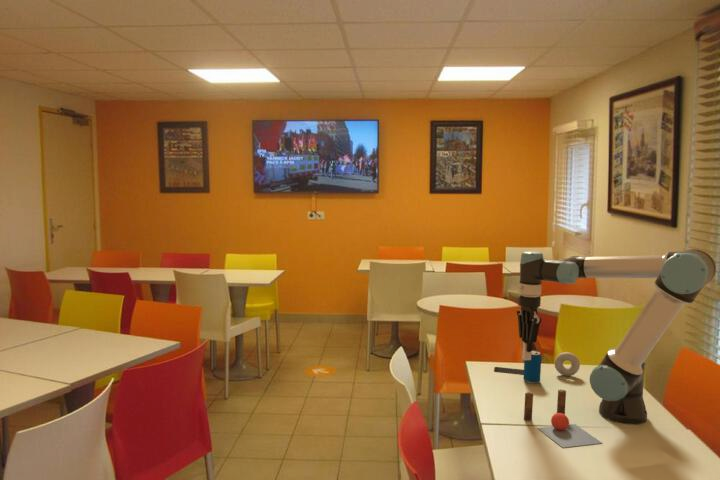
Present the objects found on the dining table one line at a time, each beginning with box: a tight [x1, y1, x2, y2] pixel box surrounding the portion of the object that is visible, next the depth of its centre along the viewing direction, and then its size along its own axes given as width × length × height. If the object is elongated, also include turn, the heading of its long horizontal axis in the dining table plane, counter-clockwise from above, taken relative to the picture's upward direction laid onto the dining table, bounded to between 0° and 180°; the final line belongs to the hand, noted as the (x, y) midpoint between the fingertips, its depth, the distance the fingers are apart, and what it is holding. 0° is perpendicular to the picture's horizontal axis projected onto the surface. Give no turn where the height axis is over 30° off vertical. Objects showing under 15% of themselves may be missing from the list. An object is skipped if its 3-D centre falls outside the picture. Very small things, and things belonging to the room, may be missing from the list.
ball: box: [550, 412, 570, 431], centre depth 187 cm, size 6×6×6 cm
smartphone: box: [493, 366, 524, 376], centre depth 244 cm, size 7×1×14 cm
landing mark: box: [537, 423, 603, 449], centre depth 183 cm, size 14×14×1 cm
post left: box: [523, 391, 534, 422], centre depth 194 cm, size 3×3×9 cm
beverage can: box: [523, 349, 542, 385], centre depth 231 cm, size 6×6×12 cm
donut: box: [554, 351, 581, 377], centre depth 239 cm, size 10×4×10 cm, turn 75°
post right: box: [556, 389, 567, 415], centre depth 198 cm, size 3×3×9 cm
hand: (526, 359), depth 207 cm, fingers closed
